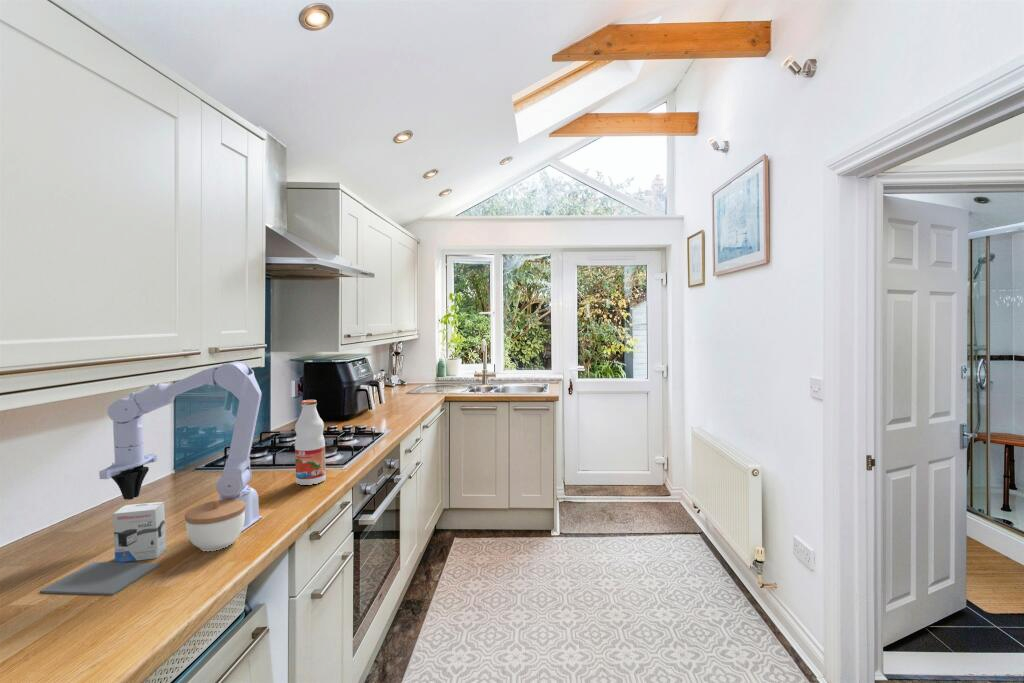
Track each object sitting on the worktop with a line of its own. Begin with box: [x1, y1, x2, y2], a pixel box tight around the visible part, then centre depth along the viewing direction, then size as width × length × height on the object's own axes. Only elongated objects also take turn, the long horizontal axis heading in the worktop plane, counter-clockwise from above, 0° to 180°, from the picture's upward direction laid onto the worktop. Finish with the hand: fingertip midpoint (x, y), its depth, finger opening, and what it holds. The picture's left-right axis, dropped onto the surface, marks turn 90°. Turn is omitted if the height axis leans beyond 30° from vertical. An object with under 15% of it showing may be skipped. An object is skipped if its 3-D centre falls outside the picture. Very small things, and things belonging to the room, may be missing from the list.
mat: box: [39, 561, 161, 596], centre depth 101 cm, size 12×16×1 cm
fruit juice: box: [294, 399, 327, 486], centre depth 160 cm, size 9×9×28 cm
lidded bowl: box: [184, 499, 245, 553], centre depth 116 cm, size 13×13×11 cm
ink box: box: [112, 501, 167, 563], centre depth 110 cm, size 8×5×12 cm, turn 105°
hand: (131, 497), depth 119 cm, fingers closed
